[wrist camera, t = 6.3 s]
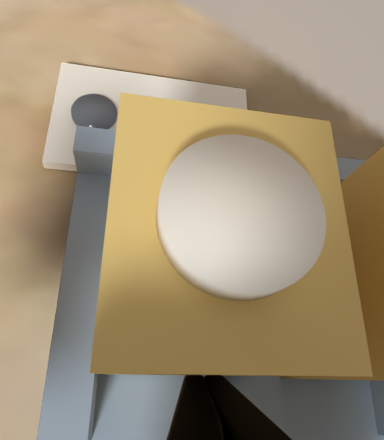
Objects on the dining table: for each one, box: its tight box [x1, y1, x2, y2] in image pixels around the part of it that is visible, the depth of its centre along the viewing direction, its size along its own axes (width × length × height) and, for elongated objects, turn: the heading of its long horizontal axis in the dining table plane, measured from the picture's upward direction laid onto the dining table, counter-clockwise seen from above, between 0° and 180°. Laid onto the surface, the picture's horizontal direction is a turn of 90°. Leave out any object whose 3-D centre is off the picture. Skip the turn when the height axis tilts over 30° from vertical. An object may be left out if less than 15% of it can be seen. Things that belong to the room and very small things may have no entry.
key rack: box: [37, 126, 384, 440], centre depth 14 cm, size 14×20×5 cm
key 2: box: [90, 92, 373, 377], centre depth 10 cm, size 5×4×10 cm
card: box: [42, 62, 247, 171], centre depth 19 cm, size 6×10×1 cm, turn 89°
